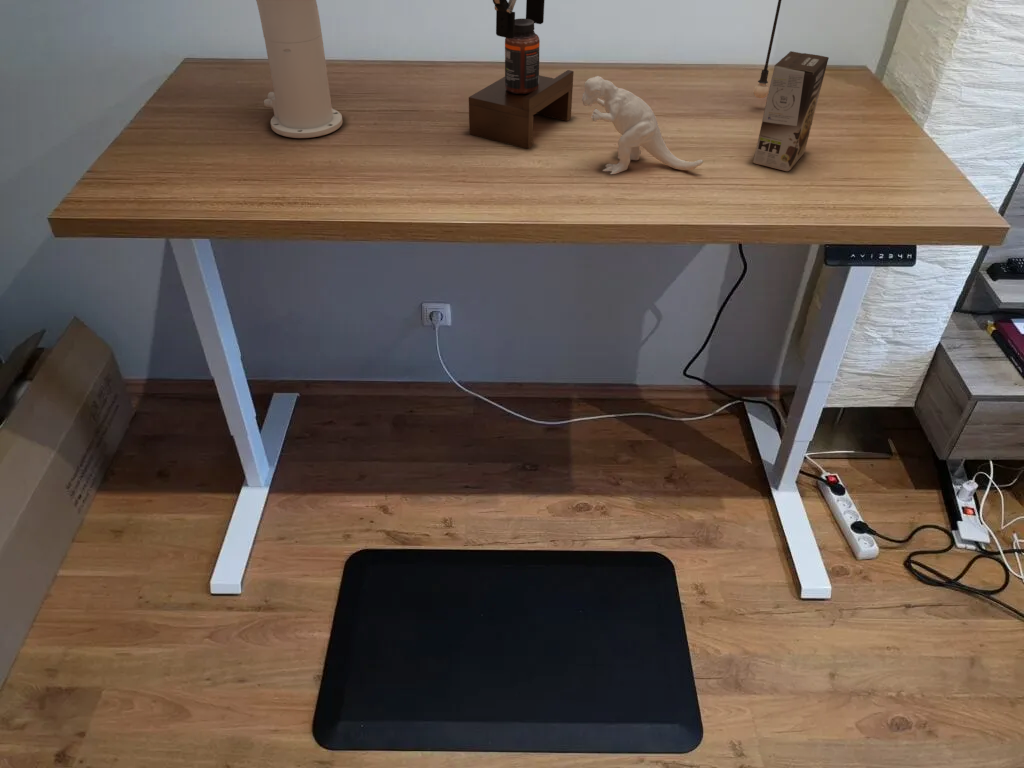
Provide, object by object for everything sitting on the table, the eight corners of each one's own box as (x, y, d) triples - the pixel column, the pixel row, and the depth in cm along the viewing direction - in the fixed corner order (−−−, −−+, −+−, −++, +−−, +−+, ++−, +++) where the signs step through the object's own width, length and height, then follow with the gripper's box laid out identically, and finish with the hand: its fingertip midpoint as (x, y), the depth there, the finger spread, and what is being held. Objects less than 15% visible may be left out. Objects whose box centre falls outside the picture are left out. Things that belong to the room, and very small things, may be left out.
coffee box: (789, 172, 131) (814, 72, 121) (751, 163, 134) (772, 64, 124) (805, 153, 137) (830, 56, 127) (769, 144, 140) (790, 48, 130)
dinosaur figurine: (575, 172, 131) (581, 80, 121) (583, 148, 138) (589, 60, 129) (700, 184, 128) (716, 91, 118) (701, 159, 135) (716, 69, 126)
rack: (469, 134, 142) (468, 85, 137) (515, 105, 153) (515, 59, 147) (528, 148, 138) (529, 99, 132) (571, 118, 148) (573, 70, 143)
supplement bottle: (544, 86, 142) (546, 19, 135) (530, 97, 138) (532, 28, 131) (513, 81, 144) (514, 14, 137) (499, 92, 140) (498, 23, 133)
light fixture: (732, 107, 153) (759, -38, 137) (755, 99, 156) (784, -43, 140) (759, 118, 149) (790, -30, 133) (782, 110, 152) (816, -35, 136)
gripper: (530, -98, 131) (526, 13, 142) (473, -82, 119) (473, 38, 130) (571, -93, 128) (563, 21, 139) (516, -76, 116) (513, 47, 127)
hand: (520, 29), depth 135 cm, fingers open, 9 cm apart
